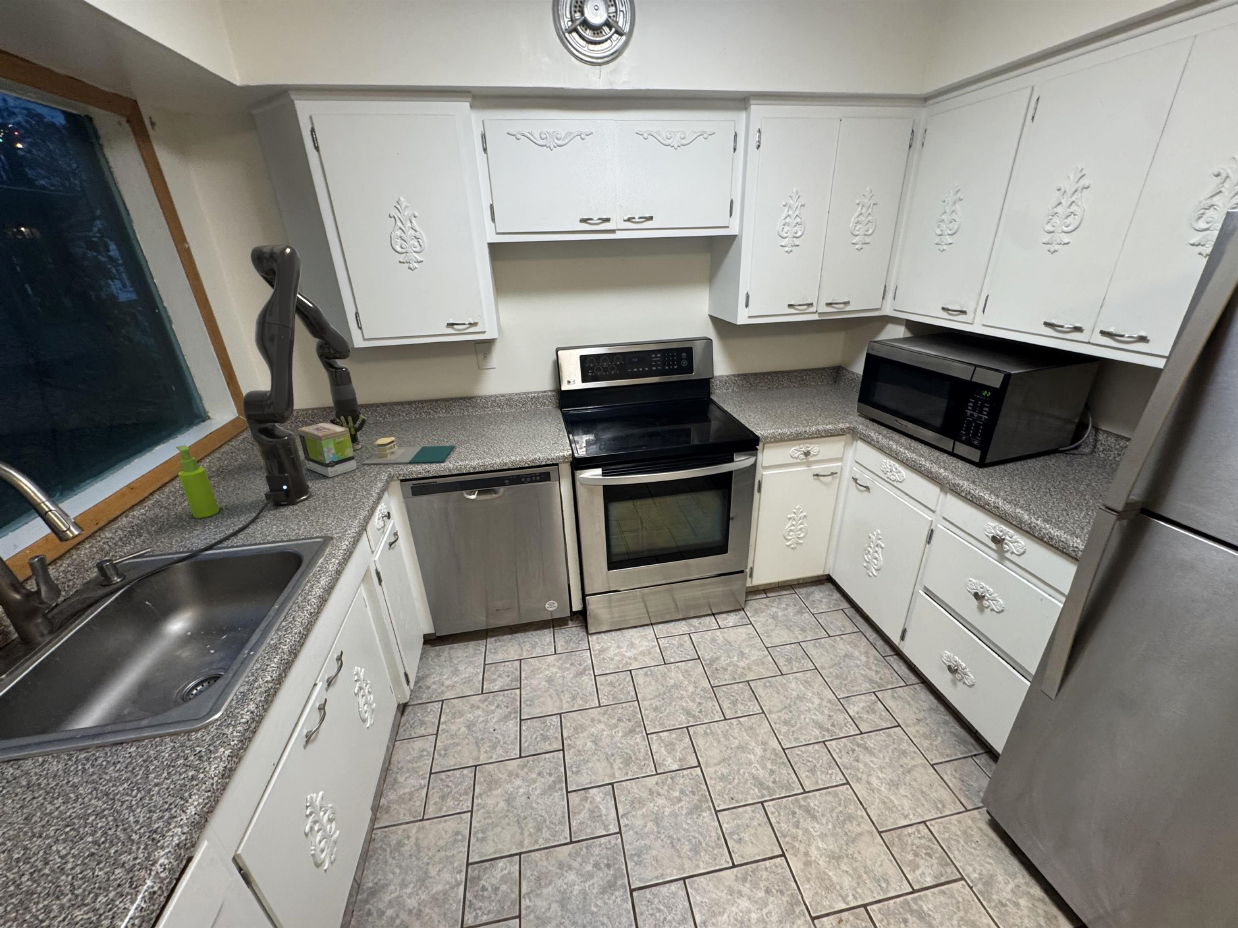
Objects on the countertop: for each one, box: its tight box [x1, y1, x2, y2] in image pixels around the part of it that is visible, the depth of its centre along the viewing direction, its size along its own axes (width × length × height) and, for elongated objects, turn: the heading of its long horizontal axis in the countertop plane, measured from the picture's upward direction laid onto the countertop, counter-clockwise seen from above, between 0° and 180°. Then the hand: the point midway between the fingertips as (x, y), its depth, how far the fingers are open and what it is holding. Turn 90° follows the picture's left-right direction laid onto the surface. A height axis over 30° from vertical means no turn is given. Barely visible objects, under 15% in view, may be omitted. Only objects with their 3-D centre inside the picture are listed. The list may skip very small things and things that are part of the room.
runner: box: [361, 445, 455, 466], centre depth 185 cm, size 16×28×1 cm, turn 93°
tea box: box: [297, 421, 357, 478], centre depth 171 cm, size 15×10×15 cm
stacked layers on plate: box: [370, 436, 404, 460], centre depth 183 cm, size 10×9×6 cm
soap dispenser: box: [175, 444, 220, 519], centre depth 141 cm, size 6×7×20 cm
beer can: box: [342, 423, 362, 451], centre depth 190 cm, size 5×5×12 cm
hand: (354, 442), depth 182 cm, fingers closed
